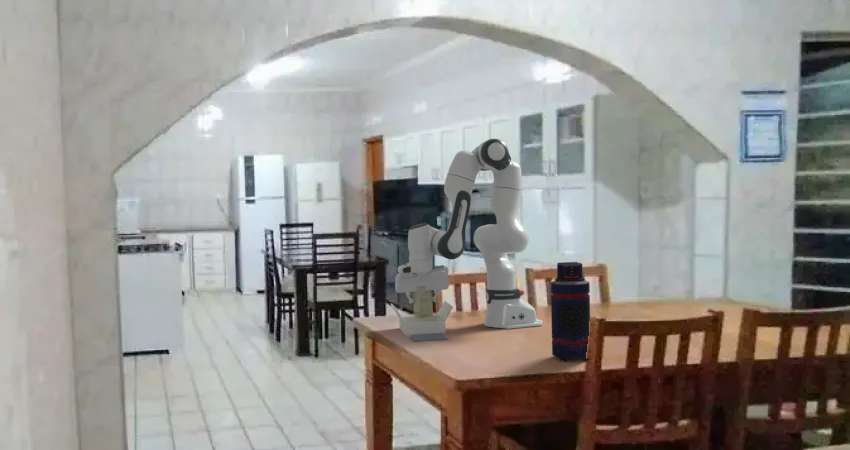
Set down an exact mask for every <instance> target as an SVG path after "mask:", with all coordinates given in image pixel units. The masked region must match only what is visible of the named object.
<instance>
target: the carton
mask: <svg viewBox="0 0 850 450" xmlns="http://www.w3.org/2000/svg"><path fill="white" fill-rule="evenodd" d="M390 305H391V307H392V309H393V310H394V312H395V313H396V315H397V317H398V319H399V321H398V322H399V329H400V331H401V332H402V334H403V335H404V336H410V335H415V334H432V333H443V334H445V333H446V322H447V319H448V318H449V315H450V314H451V312H452V310H453V309H454V307H453V306H452V305H451V304H450V303H449V302H447V301H446V300H443V303H442V305H441V306H440V307H439V308H440V309H439V310H438V312H437V314H433V316H432V317H426V318H415V317H414V315H406V316H405V315H403V316H402V315H401V314H400V312H399V310H398V309H397V308H396V307H395V305H394V304H393V303H390Z"/></svg>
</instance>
